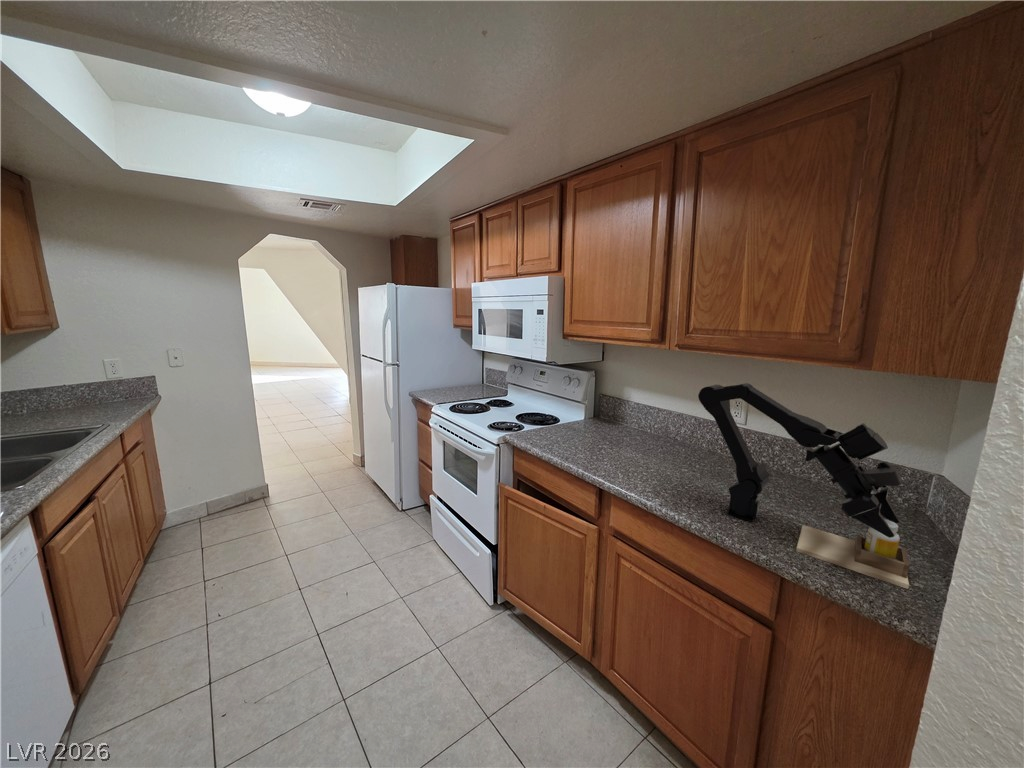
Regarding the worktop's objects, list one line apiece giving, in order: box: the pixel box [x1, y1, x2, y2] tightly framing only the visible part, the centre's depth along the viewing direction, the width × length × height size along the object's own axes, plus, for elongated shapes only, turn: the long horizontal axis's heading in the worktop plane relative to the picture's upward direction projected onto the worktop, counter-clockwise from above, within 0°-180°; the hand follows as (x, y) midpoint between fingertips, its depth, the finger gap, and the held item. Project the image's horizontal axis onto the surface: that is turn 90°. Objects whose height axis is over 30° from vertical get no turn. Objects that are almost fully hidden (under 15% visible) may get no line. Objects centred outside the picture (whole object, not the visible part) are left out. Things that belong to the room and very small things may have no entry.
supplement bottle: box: [864, 518, 901, 560], centre depth 90 cm, size 5×5×10 cm
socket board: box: [795, 524, 910, 590], centre depth 94 cm, size 20×14×4 cm
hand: (894, 529), depth 88 cm, fingers open, 9 cm apart
